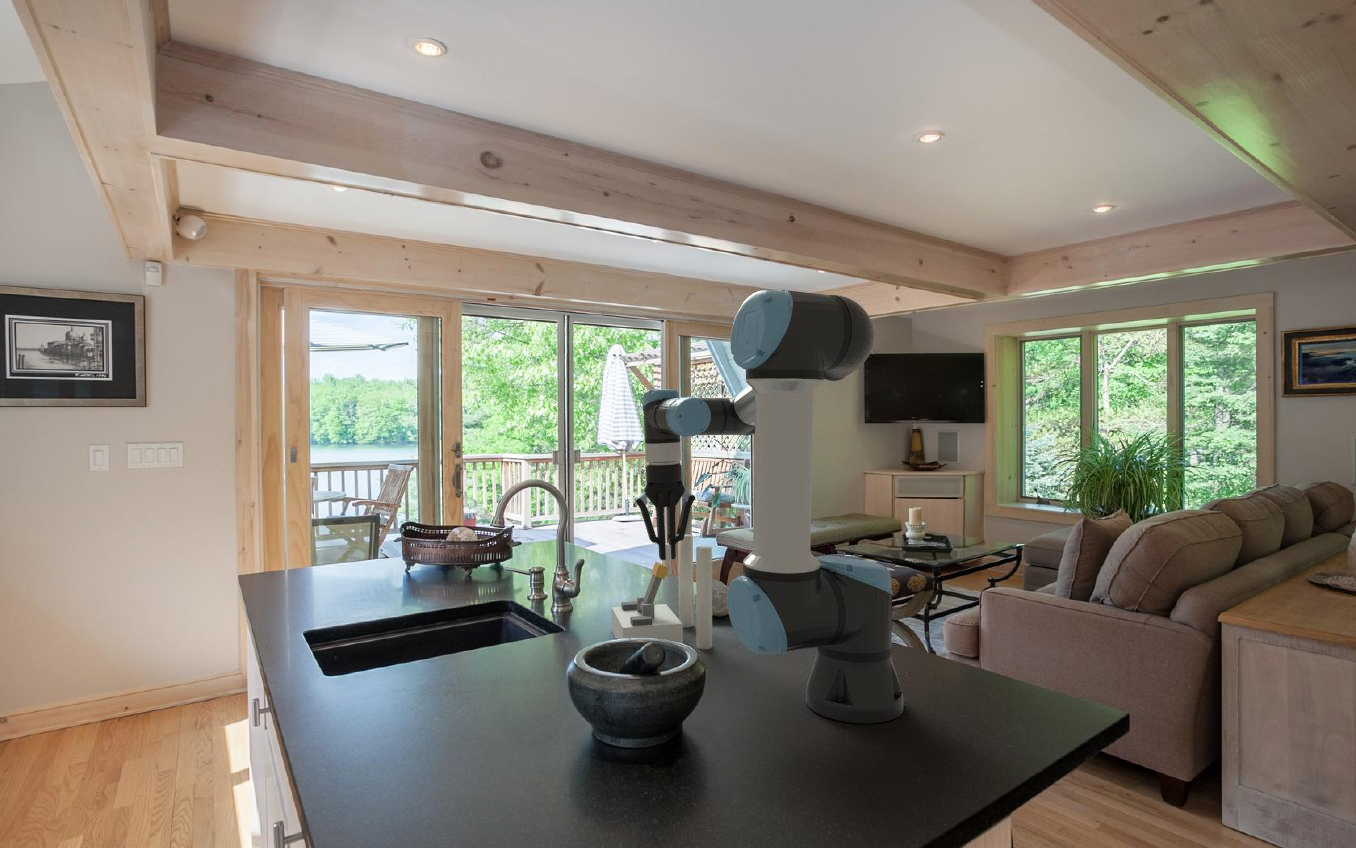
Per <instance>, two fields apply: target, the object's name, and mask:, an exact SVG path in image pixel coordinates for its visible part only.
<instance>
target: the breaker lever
mask: <svg viewBox="0 0 1356 848" xmlns="http://www.w3.org/2000/svg"><path fill="white" fill-rule="evenodd" d="M667 570H668V568H667V567H666V566H665V565H664V563H661V562H658V561H655V562H654V564H653V567H652V570H651V574H652V576H651V578H650V581H649V584H648V586H647V589H646V592H645V594H644V596H643V597H644V599H643V601H642V602H641V603H640V604H639V607H640V609H641V611H642V604H654V601H655V598H656V597H657V596H656V595H657V593H658V591H659V588H660V586H661V582H662V579H663V580H665V578H666V573H667Z"/></svg>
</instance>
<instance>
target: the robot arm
mask: <svg viewBox="0 0 1356 848" xmlns="http://www.w3.org/2000/svg"><path fill="white" fill-rule="evenodd" d="M874 342H875V331H874V326H873V322H872V320H871V318H870V315H869V314H868V312H867V311H866V310H865V309H864V308H863V306H862V305H860V304H859V303H858V302H856V301H855V300H853V299H852V298H849V297H847V296H843V295H838V294H837V295H835V294H824V293H816V292H815V293H813V292H806V291H805V292H804V291H798V290H787V289H771V290H769V289H767V290H766V289H764V290H758V291H756V292H754V293H752V294H750V295H749V296H748V297H747V298H746V299H745V300H744V301H743V302H742V304H741V305H740V308H739V309H738V310H737V312H736V315H735V316H734V320H733V323H732V326H731V333H730V351H731V352H730V353H731V354H732V356H733V357H732V359H733V361H734V362H735V364H736V365H737V366H738V367H740V368H741V369H743V370H745V383H747V385H748V386H747V387H745V388H744V389H743V390H741V391H740V392H739V393H737V394H735V396H733V397H695V396H681V397H680V396H679V392H678V390H677V389H676V388H669V389H668V388H667V389H666V388H664V389H663V388H662V389H660V388H658V389H648V390H646V391H644V393H643V399H642V400H643V401H642V402H643V403H642V404H643V405H642V411H643V412H642V413H643V427H644V428H643V429H644V449H645V451H644V452H645V462H646V463H648V464H647V465H645V477H646V479H645V480H646V484H645V485H646V486H645V488H644V489H643V493H642V494H641V495H640V496H638V497H636V498H634V502H635V504H636V505H637V507H638V508H639V510H640V512H641V515H642V519H643V522H644V525H645V529H646V532H647V535H648V538H649V541H650V542H651V543H653V544H657V546H658V557H659V560H661V561H663V564H664V565H665V566H666V567H667V568H668V570H667V573H666V575H665V577H667V578H669V577H673V572H672V570H673V567H672V566H673V565H672V560H676V557H677V549H676V546H677V545H676V544H677V543H678V542H679V541H682V540H683V539H684V536H685V534H686V531H687V526H688V525H687V524H688V523H689V522H688V521H689V517H690V516H689V515H690V513H691V507H692V505H693V503H694V501H695V500H696V496H695V495H693V494H692V493H689V492H687V491H686V488H685V486H684V484H683V472H682V471H683V470H682V467H683V465H682V464H681V463H680V461H682V448H681V447H682V446H681V445H682V444H681V443H682V442H681V439H682V438H681V437H683V438H685V437H695V436H746V437H747V436H748V437H749V436H752V435H754V470H753V471H754V473H753V474H754V477H753V479H754V480H753V533H752V534H753V539H752V541H753V542H752V544H753V546H752V547H753V549H751V550H752V551H751V552H750V553H749V554H748V555H746V556H745V558H744V559H743V560H742V575H738V576H737V577H736V578H733V579H731V581H730V584H729V586H728V591H727V606H728V613H729V614H728V616H729V620H730V623H731V626H732V628H733V630H734V632H735V635H736V636H737V638H738V640H739V641H740V643H741V644H742V645H743V646H744V647H745V648H746V649H747V650H748V651H750V652H751V653H753V654H754V655H758V656H765V655H784V654H785V653H790V652H797V651H803V650H808V649H813V648H814V649H815V648H816V655H815V658H814V661H813V665H812V667H811V671H810V674H809V677H808V680H807V683H806V686H805V704H806V705H807V707H808V708H809V709H811V711H813V712H815V714H816V713H817V715H820V716H823V717H826V718H828V719H831V720H835V721H838V722H846V723H853V724H879V723H885V722H888V721H892V720H895V719H897V718H899V717H901V715H902V714H903V712H904V694H903V690H902V686H901V684H900V681H899V677H898V674H897V671H896V669H895V665H894V662H893V658H892V656H893V654H892V653H893V652H892V650H893V649H892V647H893V645H892V644H893V641H892V638H893V637H892V636H893V635H892V633H893V632H892V628H893V627H892V625H893V624H892V623H893V595H894V593H893V590H892V576H891V572H890V571H889V569H888V568H887V567H885V566H884V565H882V564H881V563H880V564H879V563H877V562H873V561H868V560H863V559H857V558H852V557H843V556H841V557H840V556H831V555H825V556H820V557H818V558H816V557H815V556H814V555H813V554H812V551H811V539H812V538H811V537H812V536H811V535H812V534H811V533H812V532H811V531H812V529H811V528H812V489H813V488H812V487H813V486H812V483H813V482H812V480H813V477H812V475H813V433H814V432H813V423H814V422H813V421H814V417H813V416H814V393H815V391H816V390H817V389H818V388H819V387H821V386H822V385H824V384H825V383H828V382H830V383H831V382H839V381H841V380H843V379H845V378H846V377H848V376H849V375H851V374H852V373H854V372H855V371H857V370H859V368H860V367H862V366H863V364H864V363H865V362H866V361H867V359H868V358H869V356H870V355H871V353H872V349H873V346H874ZM681 499H682V502H683V503H682V506H681V507H682V508H681V510H680V511H681V512H680V516H679V520H678V525H677V528H676V509H677V508H676V506H677V505H678V503H679V502H680V500H681ZM648 500H649V501H650V503H651V504H652V505H653V506H654V508H655V514H656V517H655V518H656V530H655V528H654V525H653V522H652V518H651V515H650V512H649V509H648V506H647V505H648ZM665 508H666V513H667V514H666V515H667V520H666V522H667V541H668V542H666V531H665V529H666V528H665ZM655 531H657V532H655Z"/></svg>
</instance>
